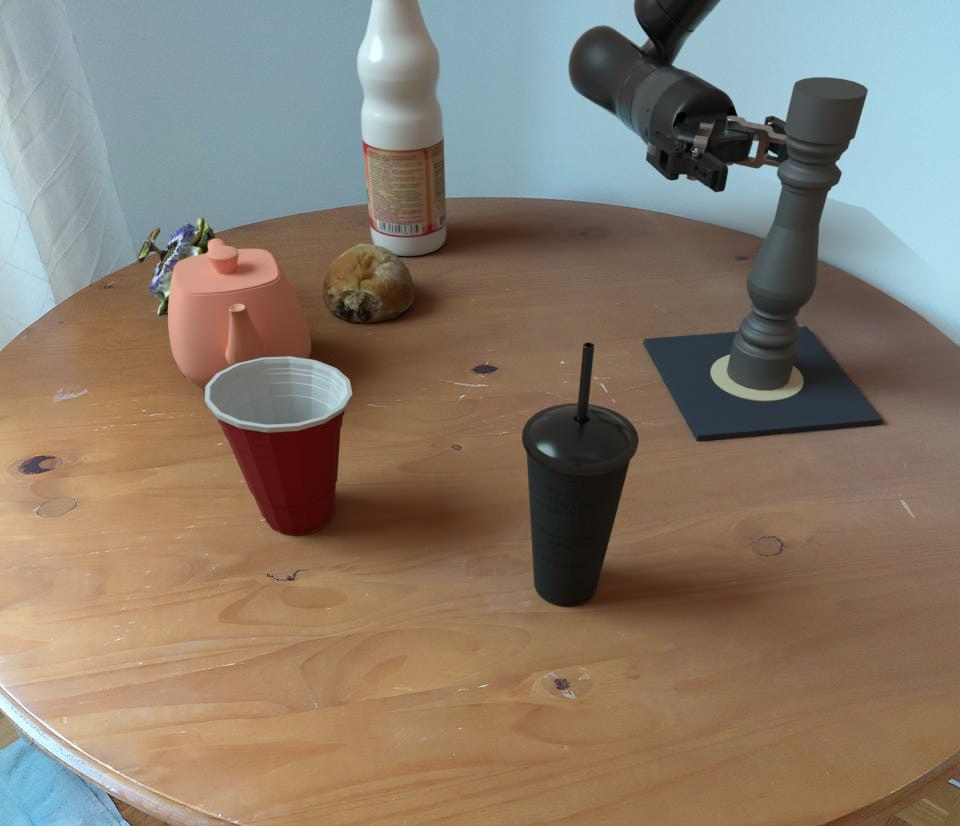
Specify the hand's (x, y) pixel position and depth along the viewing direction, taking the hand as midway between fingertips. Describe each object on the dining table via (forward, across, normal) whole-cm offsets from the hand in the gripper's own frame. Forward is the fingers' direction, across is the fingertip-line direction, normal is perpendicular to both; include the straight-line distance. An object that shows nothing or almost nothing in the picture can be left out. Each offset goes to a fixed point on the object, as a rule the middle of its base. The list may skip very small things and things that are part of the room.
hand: (765, 174), depth 79 cm
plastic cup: (+12, -47, +18) cm, 51 cm away
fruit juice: (-37, -24, +18) cm, 48 cm away
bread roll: (-22, -33, +18) cm, 43 cm away
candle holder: (+6, 0, +17) cm, 18 cm away
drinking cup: (+27, -29, +18) cm, 44 cm away
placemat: (+6, 0, +18) cm, 18 cm away
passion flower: (-26, -50, +18) cm, 59 cm away
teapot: (-12, -48, +18) cm, 52 cm away
